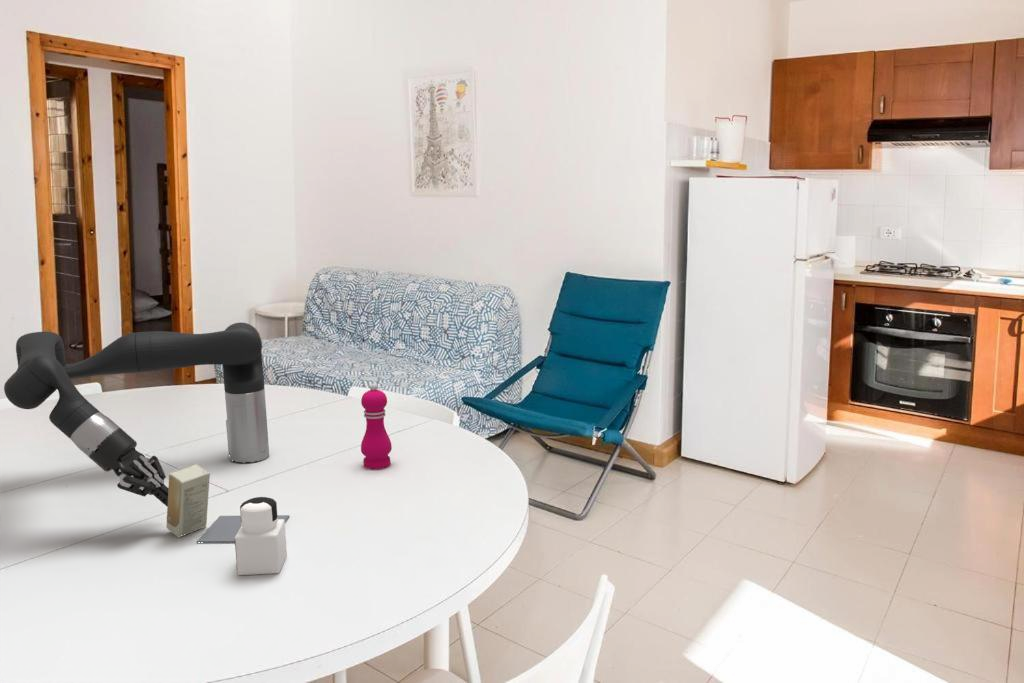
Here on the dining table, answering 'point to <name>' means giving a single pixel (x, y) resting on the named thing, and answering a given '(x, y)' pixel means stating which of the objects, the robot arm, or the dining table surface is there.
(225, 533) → the grey rubber mat
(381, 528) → the dining table surface
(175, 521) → the skincare box
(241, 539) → the medicine bottle
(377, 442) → the pepper mill
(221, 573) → the dining table surface
